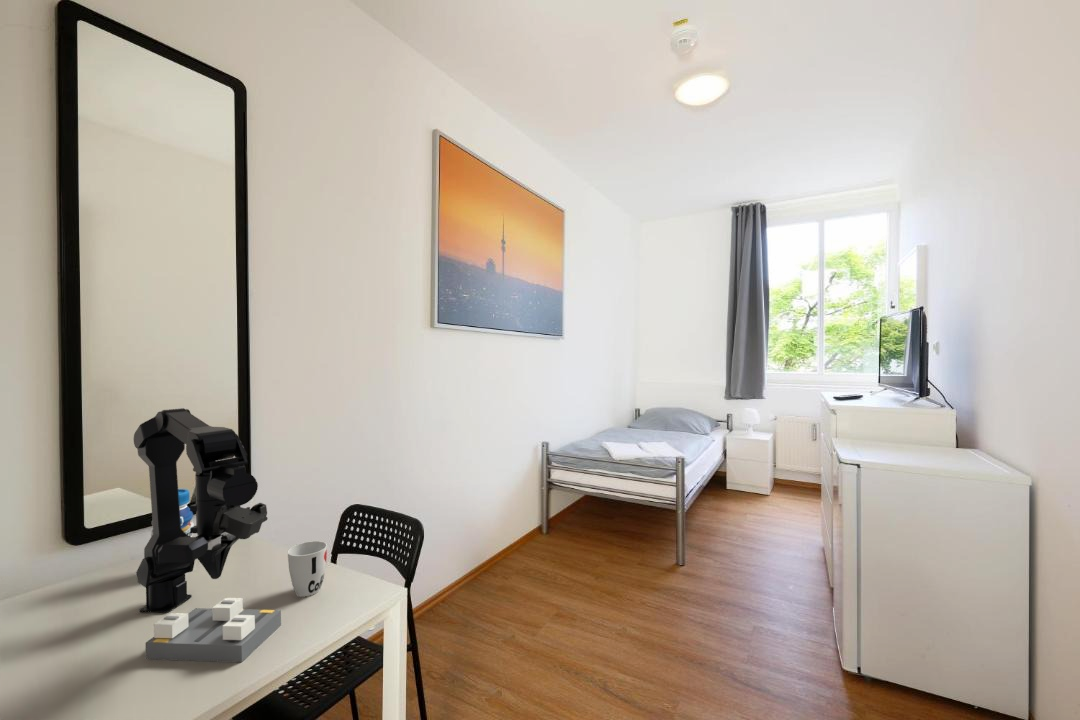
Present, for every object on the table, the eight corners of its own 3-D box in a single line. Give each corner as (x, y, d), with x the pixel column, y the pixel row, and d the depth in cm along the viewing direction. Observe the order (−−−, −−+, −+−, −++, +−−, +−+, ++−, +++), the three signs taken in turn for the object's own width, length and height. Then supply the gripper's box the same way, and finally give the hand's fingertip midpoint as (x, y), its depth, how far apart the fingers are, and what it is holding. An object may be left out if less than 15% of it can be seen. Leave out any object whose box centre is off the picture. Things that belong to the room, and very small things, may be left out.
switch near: (154, 637, 82) (153, 622, 82) (170, 626, 85) (170, 611, 85) (172, 638, 81) (172, 623, 81) (188, 626, 85) (188, 611, 85)
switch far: (222, 639, 81) (222, 624, 81) (236, 627, 84) (236, 613, 84) (241, 640, 81) (241, 624, 81) (254, 628, 84) (254, 613, 84)
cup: (311, 602, 99) (310, 557, 99) (279, 598, 101) (279, 554, 101) (335, 583, 107) (334, 542, 107) (305, 580, 109) (304, 539, 109)
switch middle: (212, 620, 87) (212, 606, 87) (226, 610, 90) (226, 596, 90) (229, 620, 87) (229, 606, 87) (242, 610, 90) (242, 596, 90)
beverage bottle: (158, 567, 116) (157, 490, 116) (198, 560, 120) (197, 485, 120) (146, 582, 109) (144, 499, 108) (189, 574, 112) (188, 494, 112)
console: (145, 659, 81) (145, 641, 81) (196, 622, 92) (195, 607, 92) (241, 662, 80) (241, 644, 80) (281, 625, 91) (280, 609, 91)
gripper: (217, 514, 76) (218, 606, 76) (286, 482, 94) (287, 556, 94) (154, 513, 76) (156, 605, 77) (235, 482, 95) (236, 556, 95)
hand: (216, 578), depth 86 cm, fingers closed
